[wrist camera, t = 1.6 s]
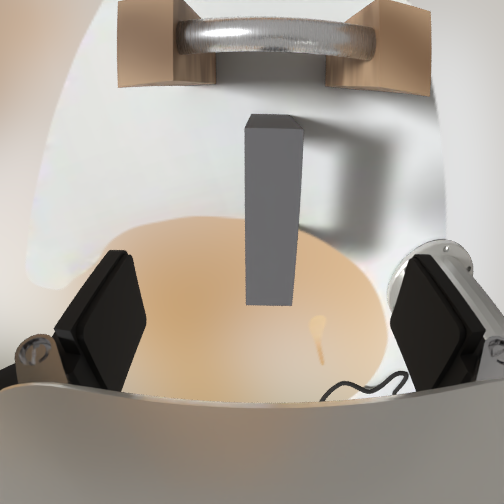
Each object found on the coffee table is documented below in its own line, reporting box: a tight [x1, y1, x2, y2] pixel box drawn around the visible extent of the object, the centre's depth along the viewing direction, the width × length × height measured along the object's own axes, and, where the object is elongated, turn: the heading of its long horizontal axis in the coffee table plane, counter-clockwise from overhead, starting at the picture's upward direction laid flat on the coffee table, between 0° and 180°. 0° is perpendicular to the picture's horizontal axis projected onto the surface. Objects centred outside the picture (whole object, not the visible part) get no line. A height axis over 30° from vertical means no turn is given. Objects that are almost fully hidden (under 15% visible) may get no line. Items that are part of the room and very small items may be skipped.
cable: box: [319, 371, 408, 402], centre depth 47 cm, size 16×16×5 cm
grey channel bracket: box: [245, 114, 304, 306], centre depth 26 cm, size 13×4×11 cm, turn 0°
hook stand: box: [117, 0, 431, 97], centre depth 18 cm, size 5×16×14 cm, turn 90°
